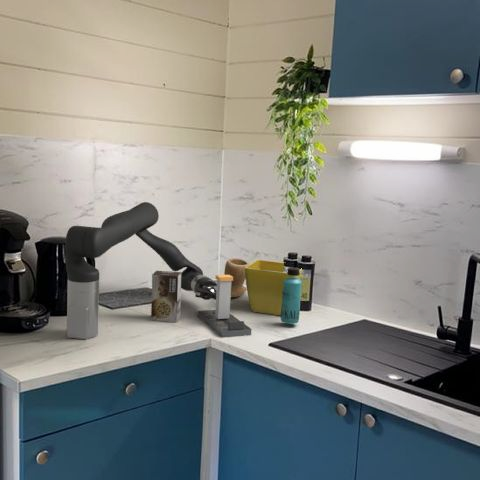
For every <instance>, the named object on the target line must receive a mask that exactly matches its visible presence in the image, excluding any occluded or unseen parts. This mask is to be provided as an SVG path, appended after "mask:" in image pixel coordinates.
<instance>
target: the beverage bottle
mask: <svg viewBox="0 0 480 480" xmlns="http://www.w3.org/2000/svg"><path fill="white" fill-rule="evenodd" d="M287 274H288V275H292V276H298V275H300V270H299V269H298V268H288V272H287ZM302 285H303V280H302V281H301V280H300V279H299V278H296V277H287V278H286V279H285V280H284V286H283V293H282V296H283V297H282V309H281V315H280V321H281V322H282V323H283V324H284V323H285V324H291V325H292V324H298V323H299V321H300V309H301V298H302V297H301V295H302V287H303V286H302Z"/></svg>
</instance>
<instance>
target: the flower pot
mask: <svg viewBox="0 0 480 480" xmlns="http://www.w3.org/2000/svg"><path fill="white" fill-rule="evenodd" d="M284 263H285V262H281V261H274V260H273V261H272V260H265V259H264V260H263V259H256V260H254V261H253V262H251V263H250V264H249V265H248V266H246V267H245V277H246V279H245V284H246V285H245V287H246V289H247V290H246V292H247V296H248V301H249V305H250V308H251V311H252V312H254V313H262V314H268V315H277V316H281V309H282V297H283V296H282V293H283V286H284V280H285V279H286V278H287V277H296V278H299V279H300V277H301V273H302V268H301V269H300V275H298V276H292V275H288V274H287V273H283V268H284Z"/></svg>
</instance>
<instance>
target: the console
mask: <svg viewBox="0 0 480 480" xmlns="http://www.w3.org/2000/svg"><path fill="white" fill-rule="evenodd" d="M196 315H197V318H199V319H200V320H201V321H203V323H205V324H206V325H207V326H208V327H209V328H210V329H212V330H213V331H214V332H216V334H218V335H219V336H220V337H221V338H229V337H230V338H231V337H242V336H243V337H245V336H244V335H246V336H252V328H251V327H249V326H248V325H247V324H245V321H244V320H240V319H239V318H237V317H236V316H234V315H233V314H231V313H230V315H229V318H225V319H218V318H216V317H215V309H202V310H197V313H196Z"/></svg>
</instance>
